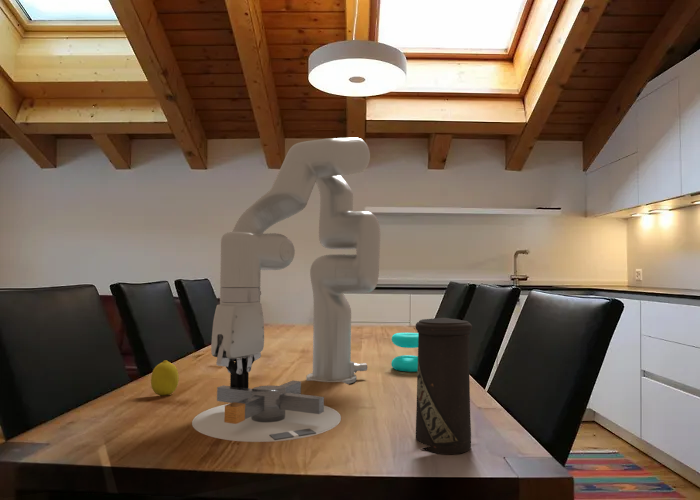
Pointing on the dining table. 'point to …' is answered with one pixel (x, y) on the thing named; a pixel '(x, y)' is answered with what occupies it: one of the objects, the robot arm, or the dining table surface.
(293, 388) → the capstan
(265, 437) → the stand
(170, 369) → the lemon
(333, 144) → the robot arm
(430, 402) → the container
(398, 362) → the donuts
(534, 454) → the dining table surface
